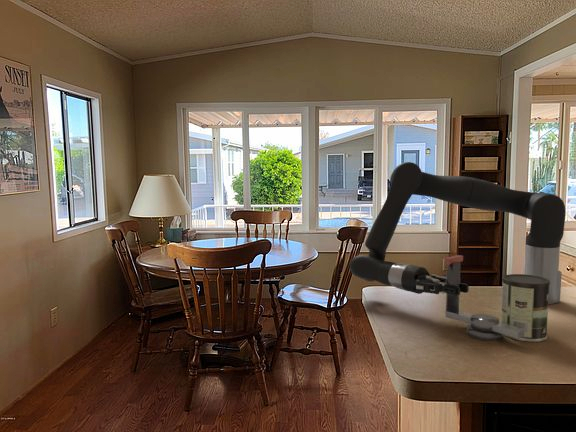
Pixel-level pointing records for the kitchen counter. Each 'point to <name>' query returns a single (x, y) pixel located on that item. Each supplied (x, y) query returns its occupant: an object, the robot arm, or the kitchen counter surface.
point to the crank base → (483, 335)
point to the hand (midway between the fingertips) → (463, 290)
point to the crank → (476, 321)
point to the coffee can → (526, 305)
